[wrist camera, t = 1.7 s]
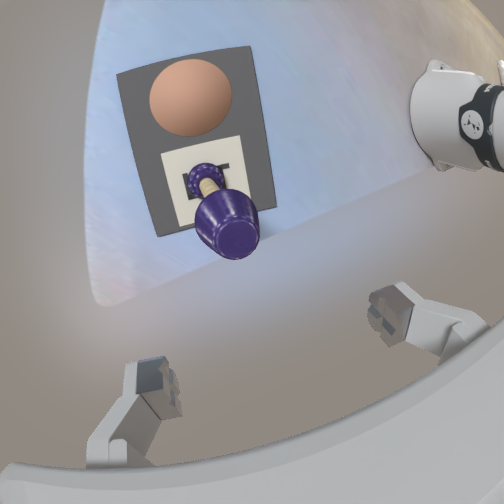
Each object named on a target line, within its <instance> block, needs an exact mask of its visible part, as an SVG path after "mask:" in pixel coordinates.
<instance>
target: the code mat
mask: <svg viewBox="0 0 504 504" xmlns="http://www.w3.org/2000/svg"><path fill="white" fill-rule="evenodd" d="M116 76H117V81H118V87H119V92H120V97H121V102H122V107H123V112H124V116H125V121H126V125H127V130H128V134H129V138H130V142H131V146H132V150H133V154H134V158H135V162H136V166H137V170H138V174H139V177H140V181H141V184H142V188H143V191H144V195H145V198H146V202H147V205H148V209H149V212H150V215H151V218H152V222H153V225H154V228H155V231H156V234H157V237H158V236H162V235H165V234H169V233H173V232H177V231H180V230H184V229H188V228H192V227H195V223H194V219H195V213H196V210H197V208H198V206H199V204H200V202H201V201H202V200H203V199H200V198H197V197H195V196H194V195H193V194H192V193H191V192H190V191H189V189H188V186H187V178H188V174H189V172H190V171H191V169H192V168H193V167H194V166H196V165H198V164H200V163H212V164H214V165H216V166H217V167H219V168H220V170H221V171H222V173H223V176H224V185H223V188H222V189H235V190H239V191H241V192H243V193H244V194H246V195H247V196H248V197H249V198H250V199H251V200H252V201H253V203H254V205H255V207H256V209H257V211H259V210H264V209H268V208H272V207H276V200H275V193H274V186H273V179H272V172H271V166H270V159H269V153H268V146H267V140H266V134H265V128H264V122H263V116H262V110H261V104H260V98H259V92H258V86H257V81H256V75H255V70H254V64H253V59H252V53H251V48H250V46H244V47H235V48H227V49H220V50H214V51H208V52H202V53H197V54H191V55H186V56H182V57H177V58H173V59H168V60H164V61H160V62H156V63H153V64H149V65H145V66H142V67H138V68H135V69H132V70H129V71H125V72H122V73H119V74H116Z"/></svg>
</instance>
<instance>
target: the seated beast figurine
mask: <svg viewBox="0 0 504 504" xmlns="http://www.w3.org/2000/svg"><path fill="white" fill-rule="evenodd" d="M497 65H498V66H497V67H498V70H499V75H500V80H501V85H502V86H504V61H500V60H497Z"/></svg>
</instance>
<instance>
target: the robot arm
mask: <svg viewBox="0 0 504 504" xmlns="http://www.w3.org/2000/svg"><path fill="white" fill-rule="evenodd" d="M410 116H411V123H412V128H413V131H414V134H415V137H416V139H417V141H418V143H419V145H420V146H421V148H422V149H423V150H424V151H425V152H426V153H427V154H428V155H429V156H430V157H431V158H432V160H433V163H434V165H435V167H436V169H437V170H439V171H446V170H448V169H450V168H452V167H454V166H456V167H459V168H463V169H466V170H470V171H474V172H475V171H476V170H478V169H481V168H482V167H483V166H486V167H489V168H491V169H493V170H496V171H501V172H504V86H501V85H498V84H485V78H484V77H482V76H478V75H477V74H475V73H471V72H464V71H457V70H455V69H453V68H452V67H450V66H448V65H446V64H444V63H442V62H440V61H438V60H431V61H430V62H429V65H428V68H427V71H426V73H425V74H424V75H423V76H422V77H421V78H420V79H419V80H418V81H417V83H416V85H415V87H414V89H413V92H412V96H411V103H410ZM369 302H370V303H371V306H370V307H369V309H368V320H369V323H370V325H371V327H372V328H373V329H374V330H375V331H378V332H381V333H380V334H381V335H380V337H381V338H382V340H383V341H384V342H385V343H386V344H387V346H388V347H391V346H393V345H395V344H397V343H400V342H402V341H404V340H405V341H407V342H409V343H411V344H413V345H416V346H418V347H420V348H422V349H424V350H427V351H429V352H431V353H433V354H435V355H438V356H440V360H439V362H438V364H437V367H436V368H434V369H433V370H432V371H430V372H428V373H426V374H425V375H423V376H421V377H420V378H418V379H416V380H415V381H413V382H411V383H410V384H408V385H406V386H404V387H403V388H401V389H399V390H397V391H395V392H393V393H392V394H390V395H388V396H386V397H384V398H382V399H380V400H378V401H376V402H374V403H372V404H370V405H368V406H366V407H364V408H361V409H359V410H357V411H355V412H353V413H351V414H348V415H346V416H344V417H341V418H339V419H337V420H334V421H332V422H329V423H327V424H324V425H322V426H319V427H317V428H314V429H311V430H309V431H306V432H303V433H301V434H297V435H294V436H291V437H288V438H285V439H282V440H279V441H276V442H273V443H269V444H266V445H262V446H259V447H255V448H251V449H248V450H244V451H240V452H235V453H231V454H227V455H222V456H218V457H212V458H207V459H202V460H196V461H191V462H184V463H177V464H169V465H160V466H155V465H154V464H152V463H151V462H150V461H149V460H148V459H146V458H145V455H146V453H147V451H148V449H149V447H150V445H151V443H152V441H153V439H154V436H155V434H156V432H157V430H158V428H159V426H160V424H161V420H166V419H171V418H176V417H181V416H182V410H181V402H180V400H179V399H178V397H177V396H178V395H179V393H180V391H179V385H178V381H177V378H176V375H175V373H174V371H173V370H172V369H170V368H169V362H168V361H167V359H166V357H165V356H160V357H155V358H149V359H144V360H139V361H134V362H128V363H127V364H126V366H125V374H124V385H123V397H119V398H118V400H117V401H116V402H115V404H114V405H113V406H112V408H111V409H110V410H109V412H108V413H107V415H106V416H105V417H104V419H103V420H102V421H101V423H100V424H99V426H98V427H97V428H96V429H95V431H94V432H93V434H92V435H91V436H90V438H89V439H88V443H87V457H86V469H82V468H63V467H51V466H42V465H34V464H27V463H21V462H12V463H10V464H9V465H8V466H7V467H6V468H5V469H4V470H3V471H2V472H1V474H0V504H504V317H503V318H502V319H500V320H499V321H498V322H497V323H496V324H495V325H493V326H492V327H490V326H489V325H488V324H487V323H486V322H485V321H483V320H482V319H481V318H480V317H479V316H478V315H477V314H476V313H474V312H473V311H469V310H465V309H461V308H458V307H454V306H450V305H447V304H443V303H439V302H436V301H431V300H424V299H423V298H422V297H420V296H419V295H418V294H417V293H416V292H414V290H412V289H411V288H410V287H409V286H408V285H407V284H405V283H404V282H403V281H398V282H396V283H394V284H391V285H389V286H387V287H384V288H382V289H379V290H377V291H374V292H372V293H371V294H370V296H369Z"/></svg>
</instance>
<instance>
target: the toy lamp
mask: <svg viewBox="0 0 504 504" xmlns="http://www.w3.org/2000/svg"><path fill="white" fill-rule="evenodd" d="M223 185H224V176H223V173H222V171H221V170H220V168H219V167H217V166H216V165H214V164H212V163H200V164H198V165H196V166H194V167H193V168H192V169H191V171H190V172H189V174H188V178H187V186H188V189H189V191H190V192H191V193H192V194H193V195H194V196H195V197H197V198H200V199H203V200H202V201H201V202H200V204H199V206H198V208H197V210H196V213H195V219H194V223H195V228H196V232H197V234H198V236H199V237H200V239H201V240H202V241H203V242H204V243H205V244H206V245H207V246H208V247H210V248H211V249H212V250H213V251H215V252H216V253H217V254H219V255H220V256H222V257H224V258H227V259H231V260H237V259H242V258H244V257H246V256H248V255H250V254H251V253H252V252H253V251H254V250H255V249H256V247H257V245H258V242H259V238H260V229H259V220H258V213H257V209H256V207H255V205H254V203H253V201H252V200H251V199H250V198H249V197H248V196H247V195H246V194H244V193H243V192H241V191H239V190H235V189H222V188H223Z"/></svg>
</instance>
